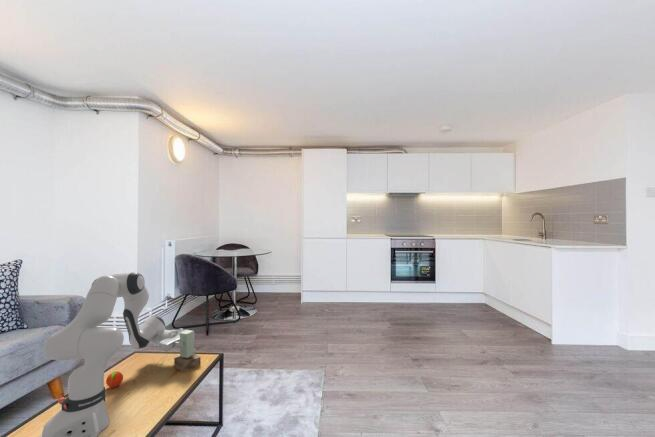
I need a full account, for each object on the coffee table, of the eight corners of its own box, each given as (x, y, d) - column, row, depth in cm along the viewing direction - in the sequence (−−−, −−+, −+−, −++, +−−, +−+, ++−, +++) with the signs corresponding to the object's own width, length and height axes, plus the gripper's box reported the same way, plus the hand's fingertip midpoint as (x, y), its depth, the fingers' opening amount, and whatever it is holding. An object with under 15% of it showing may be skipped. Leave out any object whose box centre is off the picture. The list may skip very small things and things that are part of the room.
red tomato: (120, 390, 150) (119, 375, 150) (103, 392, 148) (102, 377, 148) (125, 381, 157) (124, 367, 157) (109, 384, 155) (108, 369, 155)
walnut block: (182, 371, 166) (182, 363, 166) (174, 366, 173) (174, 358, 173) (200, 364, 174) (200, 356, 174) (192, 359, 180) (192, 351, 180)
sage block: (187, 357, 170) (186, 334, 170) (180, 356, 172) (179, 333, 172) (194, 354, 175) (193, 330, 175) (187, 352, 177) (186, 329, 176)
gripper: (153, 340, 168) (172, 343, 163) (183, 327, 187) (201, 329, 182) (153, 351, 168) (172, 355, 163) (183, 337, 187) (201, 340, 182)
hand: (188, 341), depth 173 cm, fingers closed on sage block, 5 cm apart
